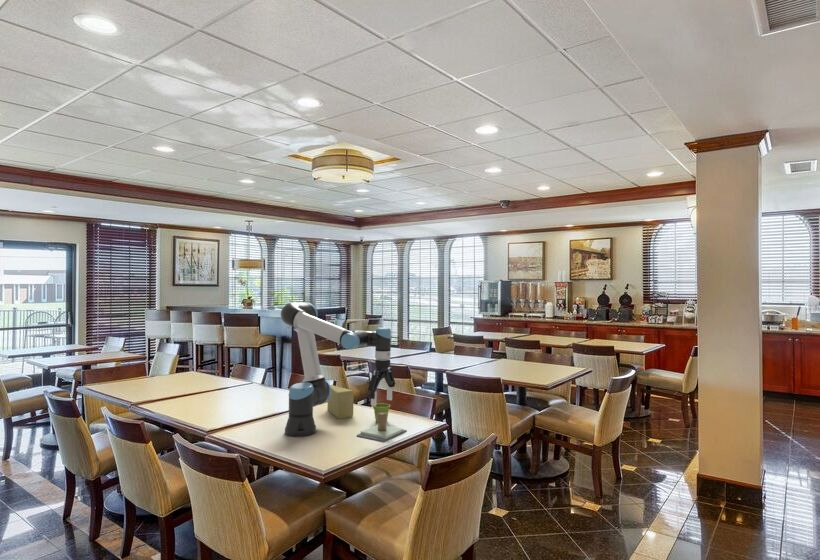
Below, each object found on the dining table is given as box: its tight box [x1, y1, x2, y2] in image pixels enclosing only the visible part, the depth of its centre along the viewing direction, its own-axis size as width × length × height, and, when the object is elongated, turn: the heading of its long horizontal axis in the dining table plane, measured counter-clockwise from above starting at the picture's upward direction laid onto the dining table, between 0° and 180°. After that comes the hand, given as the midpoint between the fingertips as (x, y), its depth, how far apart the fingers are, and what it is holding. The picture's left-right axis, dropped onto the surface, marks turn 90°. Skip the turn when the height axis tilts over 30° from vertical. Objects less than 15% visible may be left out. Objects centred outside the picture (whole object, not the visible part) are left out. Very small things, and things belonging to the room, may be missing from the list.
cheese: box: [327, 384, 355, 420], centre depth 270 cm, size 22×10×15 cm, turn 36°
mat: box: [356, 429, 408, 443], centre depth 232 cm, size 20×16×1 cm
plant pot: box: [372, 403, 391, 423], centre depth 254 cm, size 9×9×9 cm
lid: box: [360, 413, 404, 439], centre depth 232 cm, size 15×15×9 cm
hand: (381, 402), depth 232 cm, fingers open, 13 cm apart
